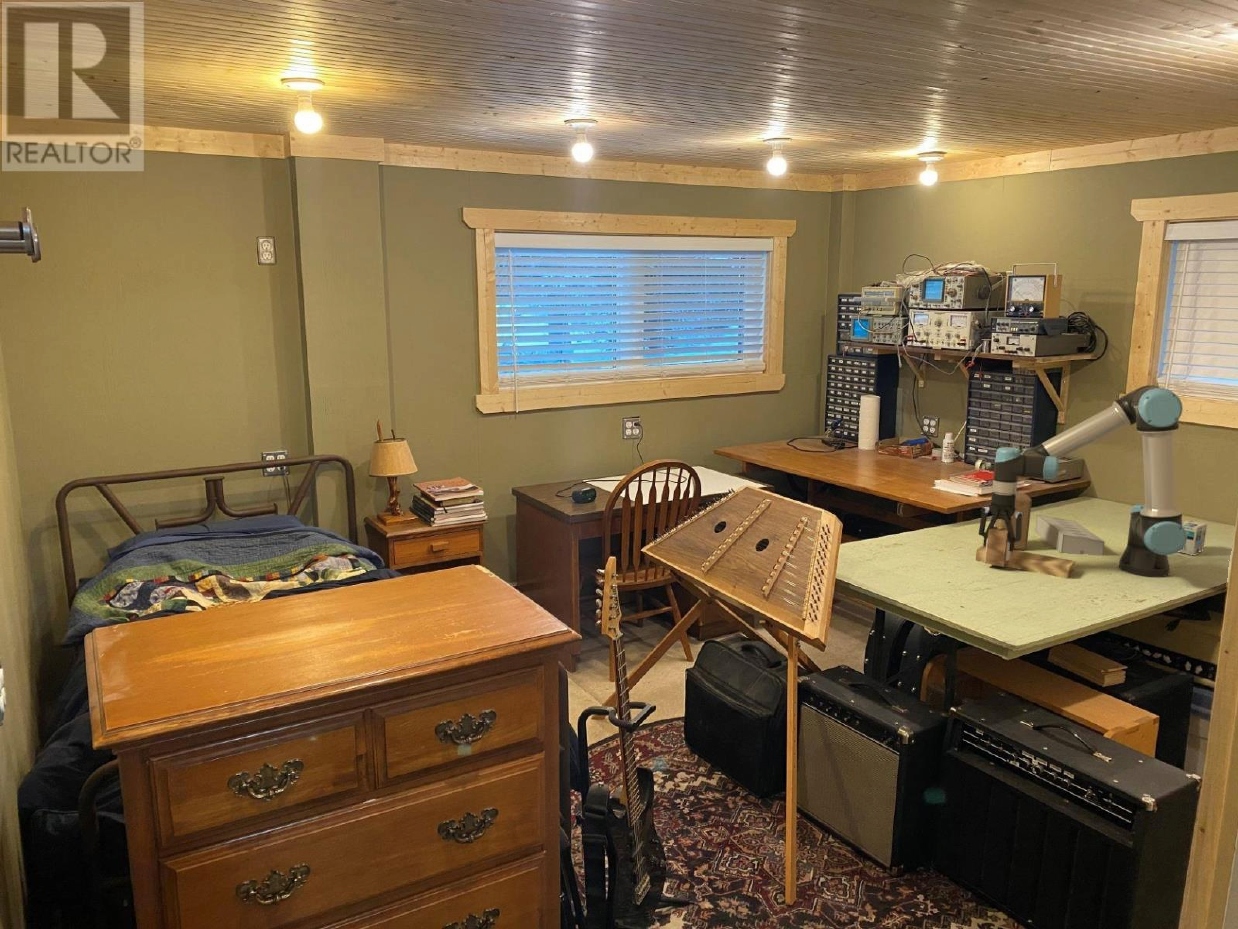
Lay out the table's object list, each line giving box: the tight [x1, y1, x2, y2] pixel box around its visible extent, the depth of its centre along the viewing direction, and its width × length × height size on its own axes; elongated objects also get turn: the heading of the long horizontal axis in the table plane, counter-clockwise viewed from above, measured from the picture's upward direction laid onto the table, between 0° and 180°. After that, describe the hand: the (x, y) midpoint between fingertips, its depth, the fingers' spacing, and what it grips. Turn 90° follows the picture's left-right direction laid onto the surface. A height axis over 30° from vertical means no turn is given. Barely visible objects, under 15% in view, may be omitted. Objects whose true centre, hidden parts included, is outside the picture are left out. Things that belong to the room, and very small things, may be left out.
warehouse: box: [1035, 514, 1105, 556], centre depth 334 cm, size 30×14×8 cm, turn 172°
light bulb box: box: [1180, 519, 1208, 556], centre depth 325 cm, size 11×7×11 cm, turn 129°
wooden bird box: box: [984, 526, 1010, 568], centre depth 305 cm, size 6×15×13 cm, turn 141°
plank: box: [975, 545, 1076, 579], centre depth 305 cm, size 30×9×4 cm, turn 51°
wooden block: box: [994, 492, 1033, 551], centre depth 328 cm, size 10×10×20 cm
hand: (997, 557), depth 303 cm, fingers closed on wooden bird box, 6 cm apart
